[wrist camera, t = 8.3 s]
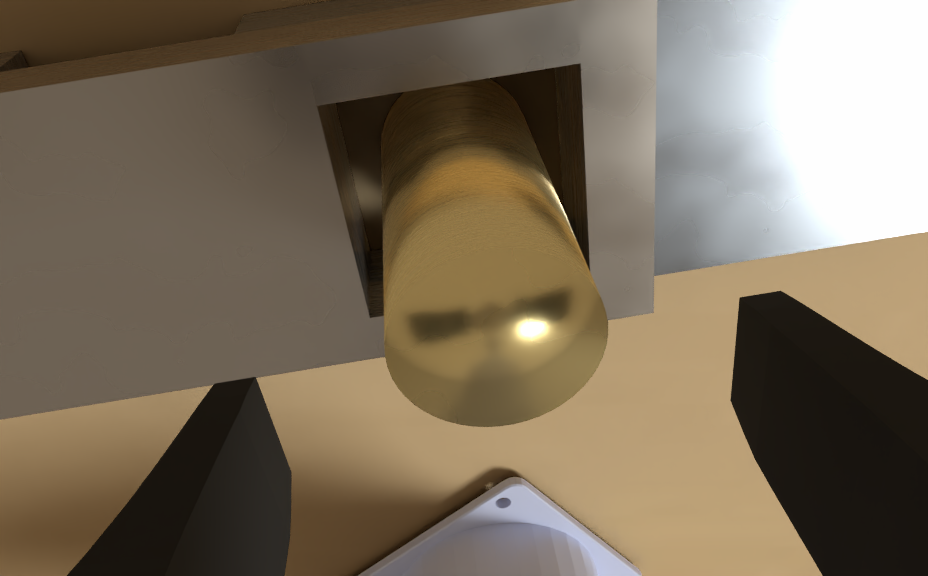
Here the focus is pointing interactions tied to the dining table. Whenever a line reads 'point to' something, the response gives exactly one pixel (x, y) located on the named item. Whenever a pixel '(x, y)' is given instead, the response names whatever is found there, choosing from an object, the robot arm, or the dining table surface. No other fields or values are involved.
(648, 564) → the dining table surface
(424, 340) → the pin
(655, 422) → the dining table surface
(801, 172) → the gray slotted block
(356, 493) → the dining table surface
